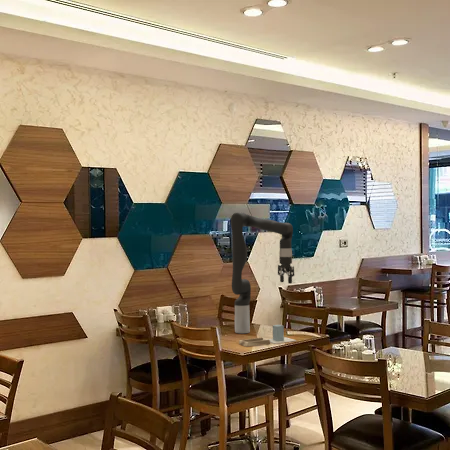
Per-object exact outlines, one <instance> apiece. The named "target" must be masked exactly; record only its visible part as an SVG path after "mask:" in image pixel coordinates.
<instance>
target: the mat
mask: <svg viewBox="0 0 450 450" xmlns="http://www.w3.org/2000/svg"><path fill="white" fill-rule="evenodd" d="M268 339H269V340H270V344H274V345H276V344H283V343H289V342H290V343H291V342H297V340H296V339H293V338H289V337H286V336H284V341H274V340H273V338H266V339H264V340H268Z"/></svg>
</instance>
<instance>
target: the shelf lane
mask: <svg viewBox="0 0 450 450" xmlns="http://www.w3.org/2000/svg"><path fill="white" fill-rule="evenodd" d="M267 339H268V340H265V339H264V337H262V336H261V337H255V338H247V339H245V338H244V339H239V340H238V345H240V346H243V347H246V348H247V347H248V348H249V347H255V346H263V345H270V344H271V343H270V340H269V339H270V338H267Z"/></svg>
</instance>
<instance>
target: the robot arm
mask: <svg viewBox="0 0 450 450" xmlns="http://www.w3.org/2000/svg"><path fill="white" fill-rule="evenodd" d="M230 227H231V236H232V237H231V238H232V241H231V243H232V244H231V245H232V250H231V251H232V275H231V277H232V278H231V290H232V292H233V294H234V295H237V296H238V295H239V296H238V298H236V299H235V300H234V332H235V333H236V334H248V333H250V332H251V327H250V326H251V325H250V320H251V319H250V315H251V314H250V302H251V296H252V295H251V294H252V293H251V292H252V286H251V283H250V281H249V280H248V279H247V278H243V276H242V275H243V270H244V268H245V266H246V263H247V260H248V248H247V247H248V246H247V244H246V241H245V238H244V234H243V230H244V229H243V228H244V227H248V228H249V227H251V228H256V229H259V230H262V231H266V232H273V233H275V234H279V235H281V238H280V239H279V252H278V254H279V255H278V256H279V258H278V259H279V260H278V261H279V264H277V275H278V276H279V280H280V281H279V282H280V283H284V282H285V276H284V275H285V274H286V275H287V281H288V282H287V283H288V284H289V285H290V284H292V283H293V277H295V266H294V265H291V264H293V251H292V239H293V234H294V229H293V228H294V227H293V225H292V224H291V223H289V222H279V221H276V220H273V219H267V218H262V217H261V218H260V217H257V216H256V217H255V216H252V215H250V214H247V213H245V212H240V211H239V212H233V213H232V215H231V217H230Z"/></svg>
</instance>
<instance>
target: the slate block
mask: <svg viewBox="0 0 450 450" xmlns="http://www.w3.org/2000/svg"><path fill="white" fill-rule="evenodd" d="M284 331H285V328H284V325H283V324H273V325H272V339H273V340H274V341H284V337H285V335H284V334H285V333H284Z"/></svg>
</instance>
